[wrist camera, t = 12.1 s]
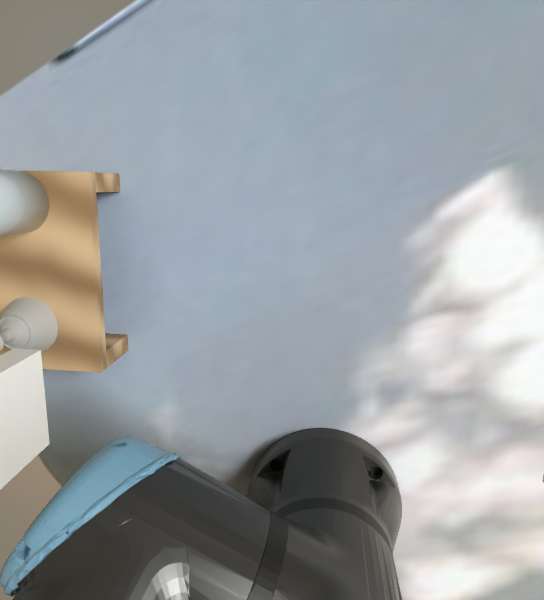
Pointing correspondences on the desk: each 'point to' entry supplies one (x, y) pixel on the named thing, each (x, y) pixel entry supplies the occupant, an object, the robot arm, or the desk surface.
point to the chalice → (27, 325)
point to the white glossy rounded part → (21, 203)
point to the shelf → (65, 271)
